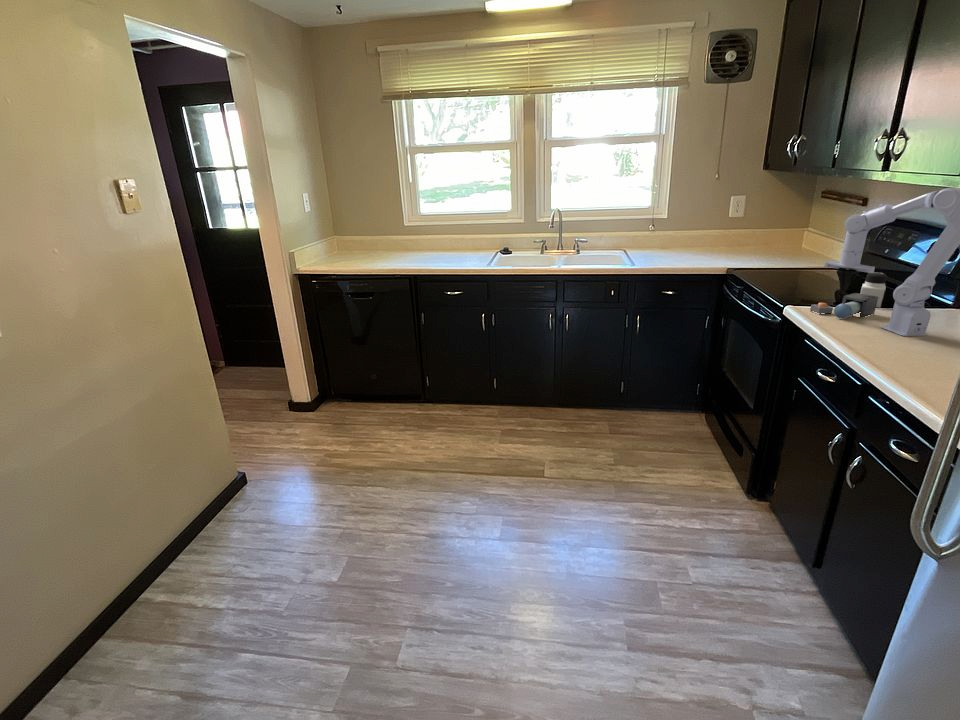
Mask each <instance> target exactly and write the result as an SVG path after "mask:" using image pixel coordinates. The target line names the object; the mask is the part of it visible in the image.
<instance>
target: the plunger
mask: <svg viewBox="0 0 960 720" xmlns="http://www.w3.org/2000/svg"><path fill="white" fill-rule="evenodd" d="M826 306H828V303H826V302H818V307H826Z"/></svg>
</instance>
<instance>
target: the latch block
mask: <svg viewBox="0 0 960 720" xmlns="http://www.w3.org/2000/svg"><path fill="white" fill-rule="evenodd" d="M810 310H812V311H814V312H817V313H832V314H833V311H834V307H833V306H830V305H827V306H826V307H818V304H810ZM810 310H809V311H810ZM814 312H813V313H814Z"/></svg>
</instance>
